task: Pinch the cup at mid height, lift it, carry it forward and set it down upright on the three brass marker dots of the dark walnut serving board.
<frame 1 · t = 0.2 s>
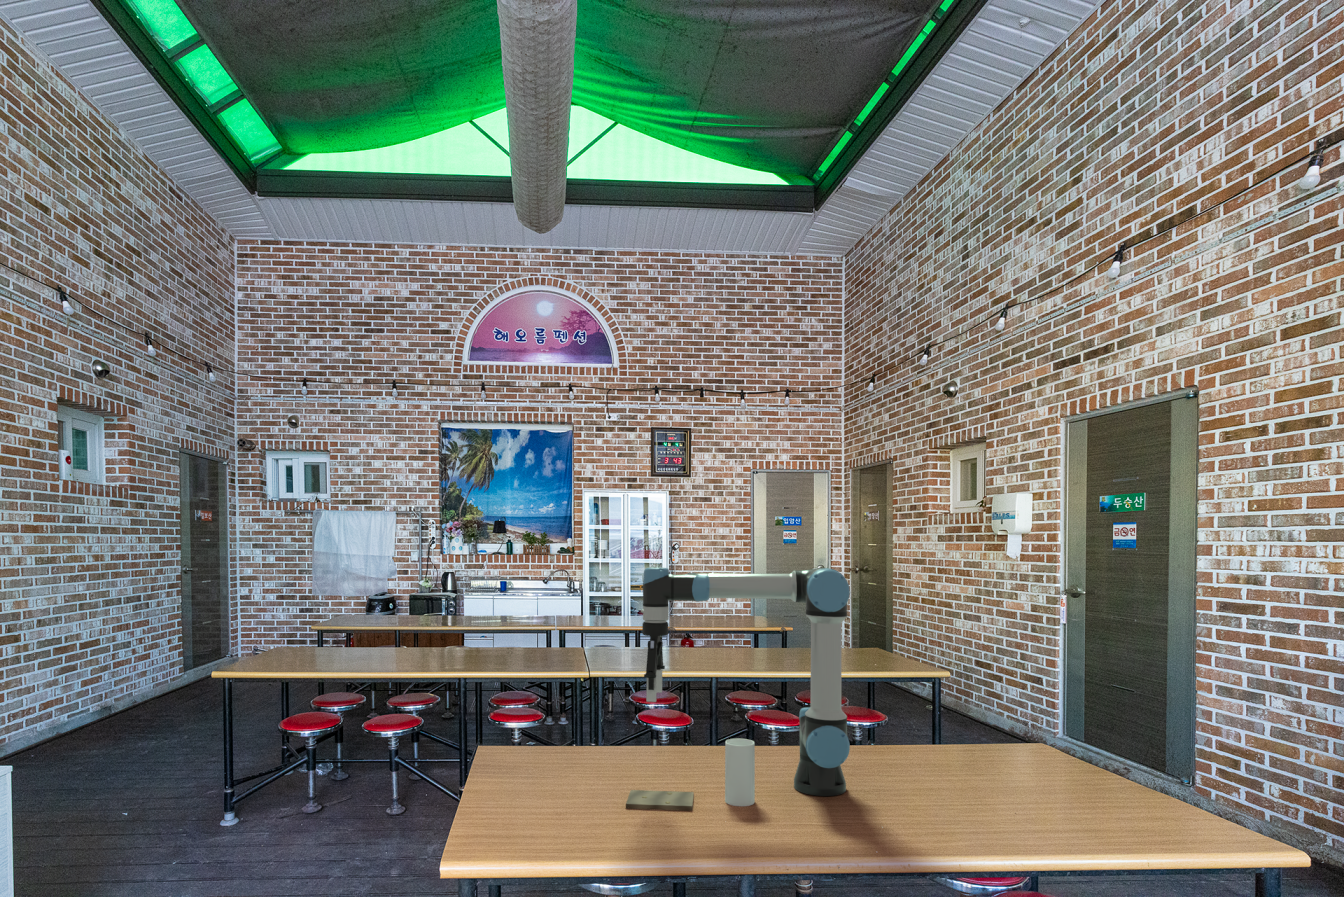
hand: (654, 696, 220), 28 cm above the table, fingers open, 13 cm apart
board: (660, 802, 213), on the table
cup: (739, 802, 214), on the table
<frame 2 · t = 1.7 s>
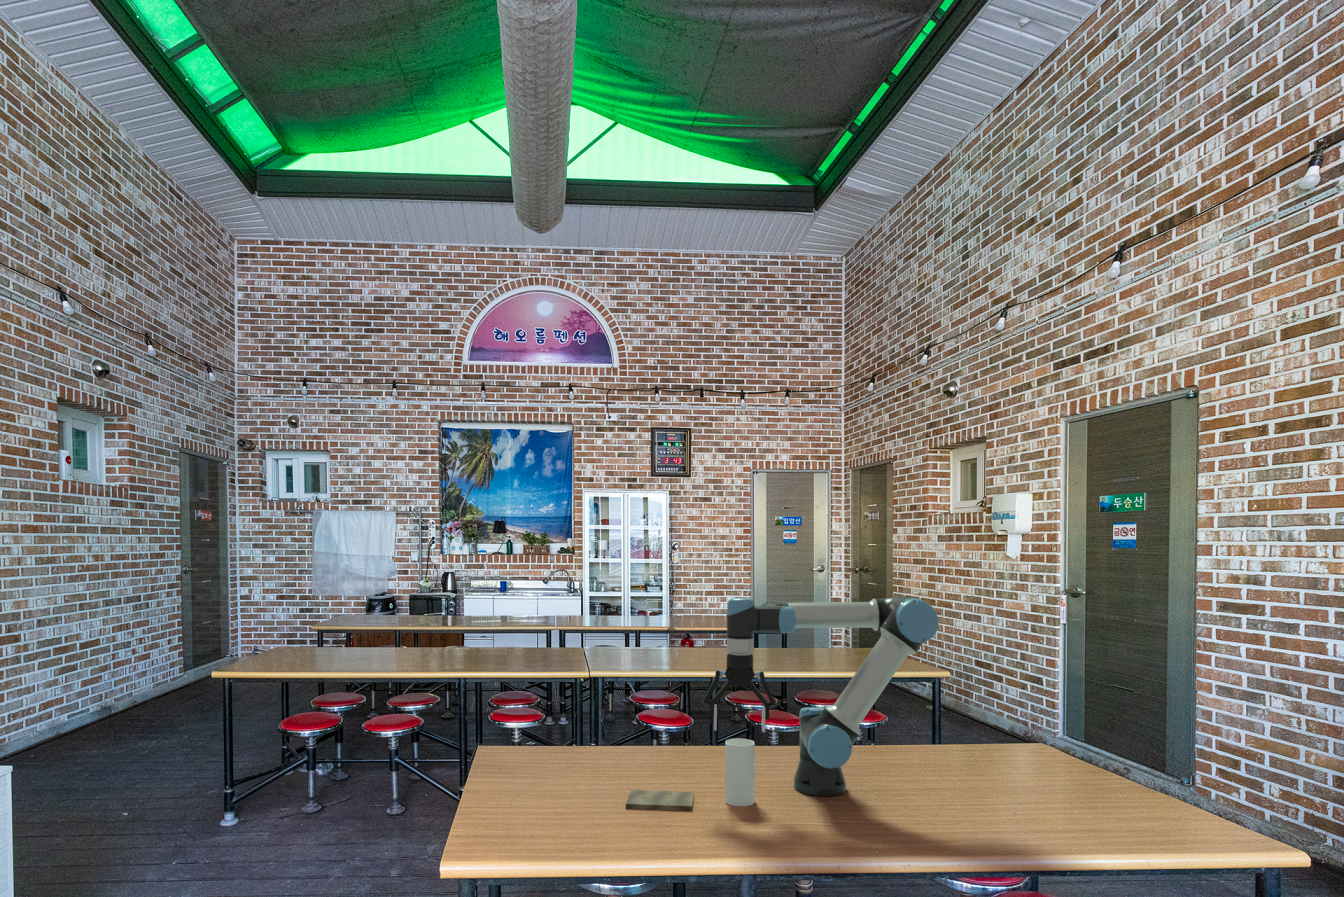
hand: (739, 730, 217), 19 cm above the table, fingers open, 13 cm apart
nothing on the table moved.
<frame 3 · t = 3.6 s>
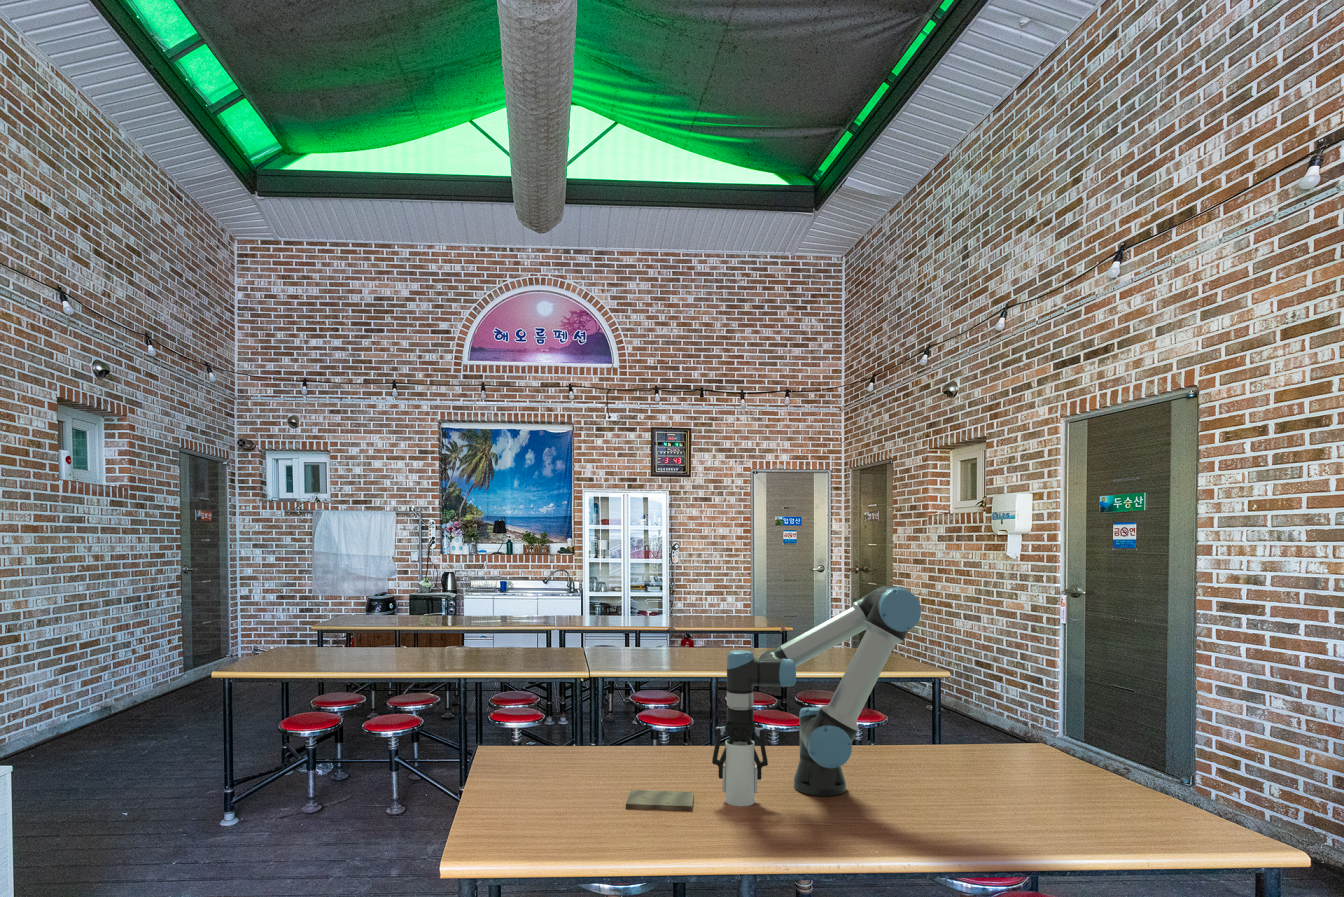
hand: (739, 790, 215), 3 cm above the table, fingers closed on cup, 8 cm apart
cup: (739, 802, 214), on the table, touching gripper
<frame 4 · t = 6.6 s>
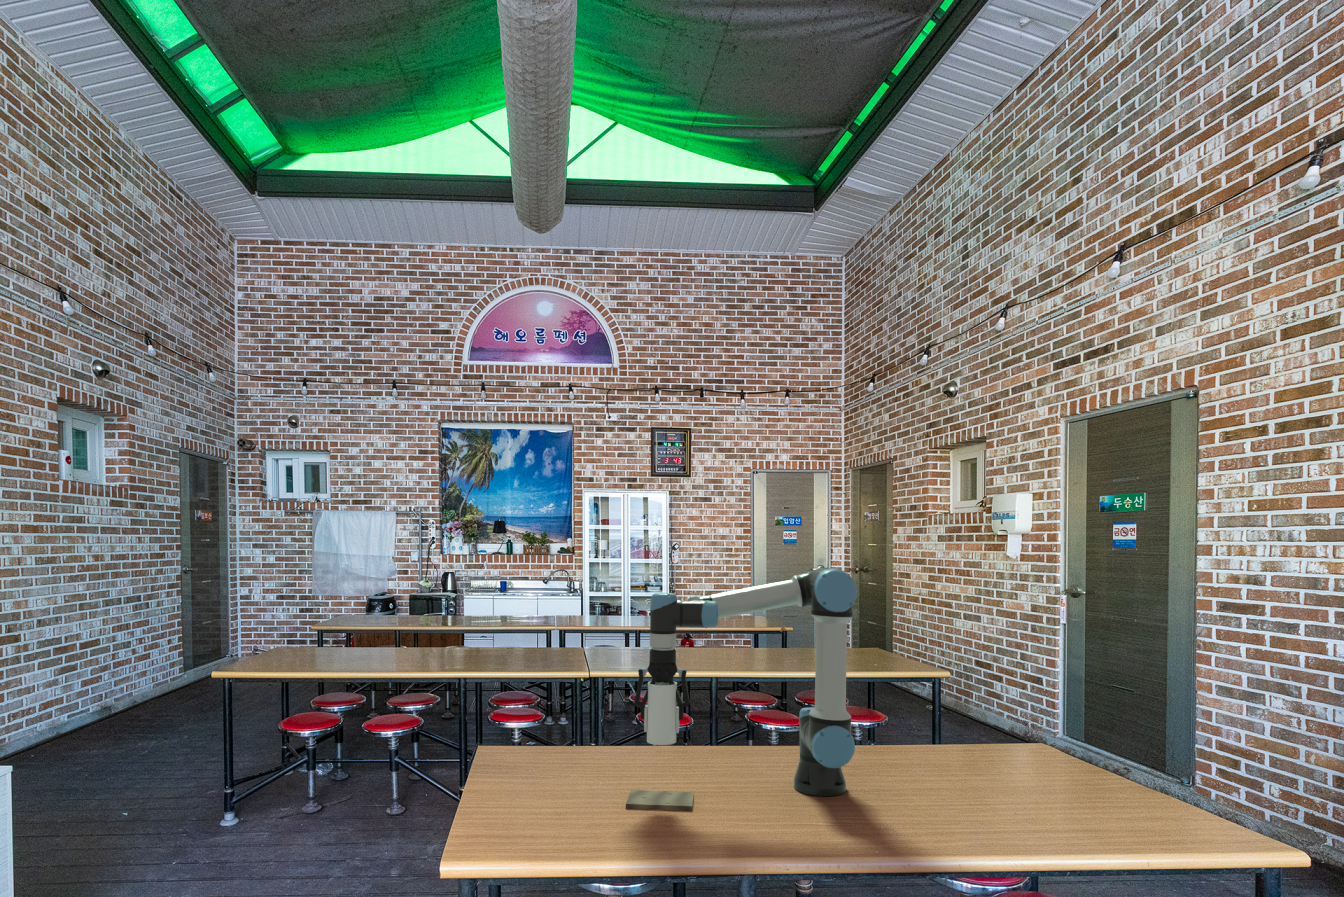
hand: (661, 731, 215), 19 cm above the table, fingers closed on cup, 8 cm apart
cup: (661, 742, 215), point 16 cm above the table, touching gripper
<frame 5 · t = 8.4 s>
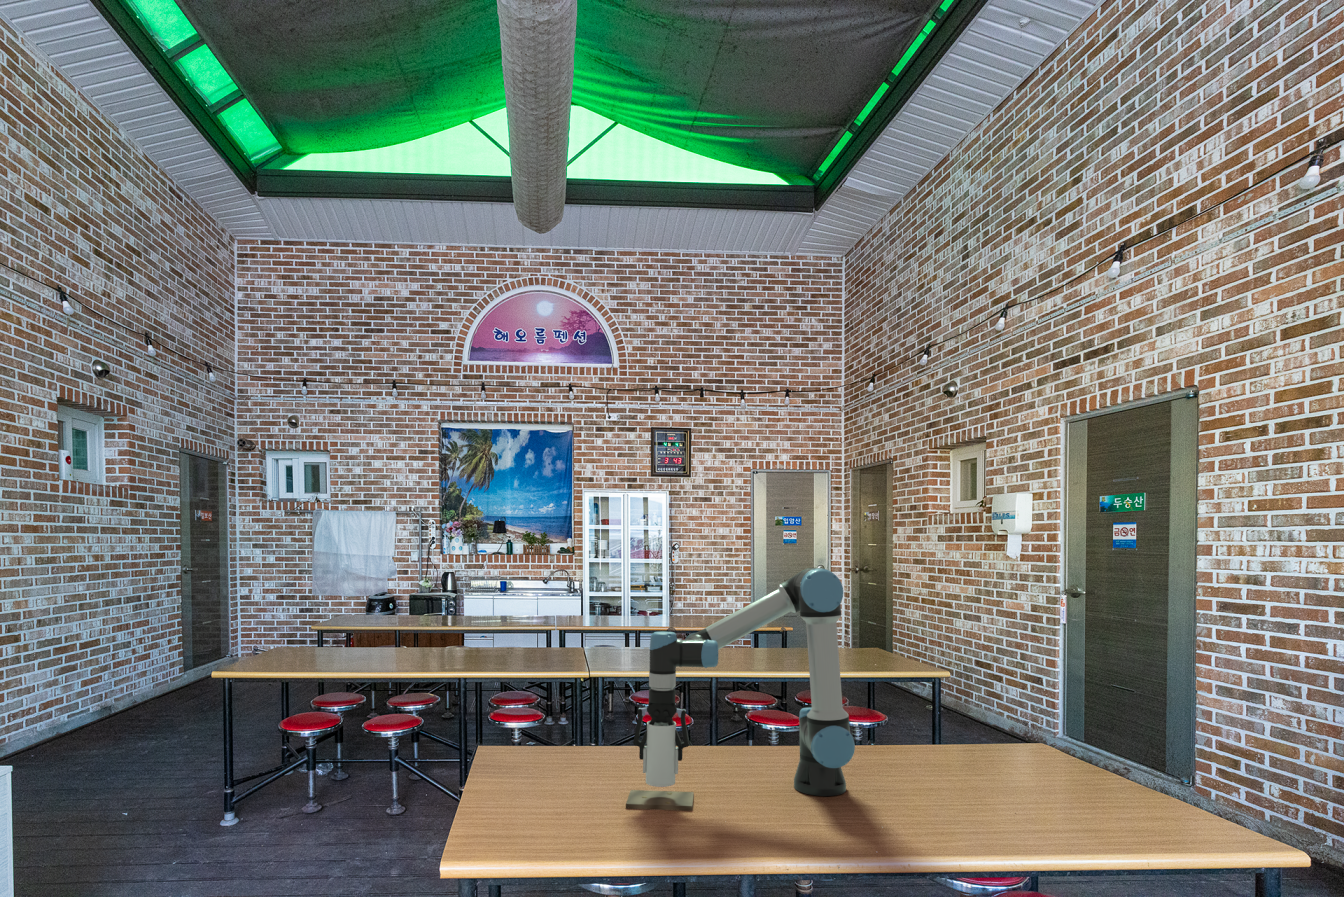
hand: (660, 772, 214), 8 cm above the table, fingers closed on cup, 8 cm apart
cup: (660, 783, 213), point 5 cm above the table, touching gripper
when the fingers open (4 cm above the table, at t = 9.6 s): cup stays where it is, resting on board.
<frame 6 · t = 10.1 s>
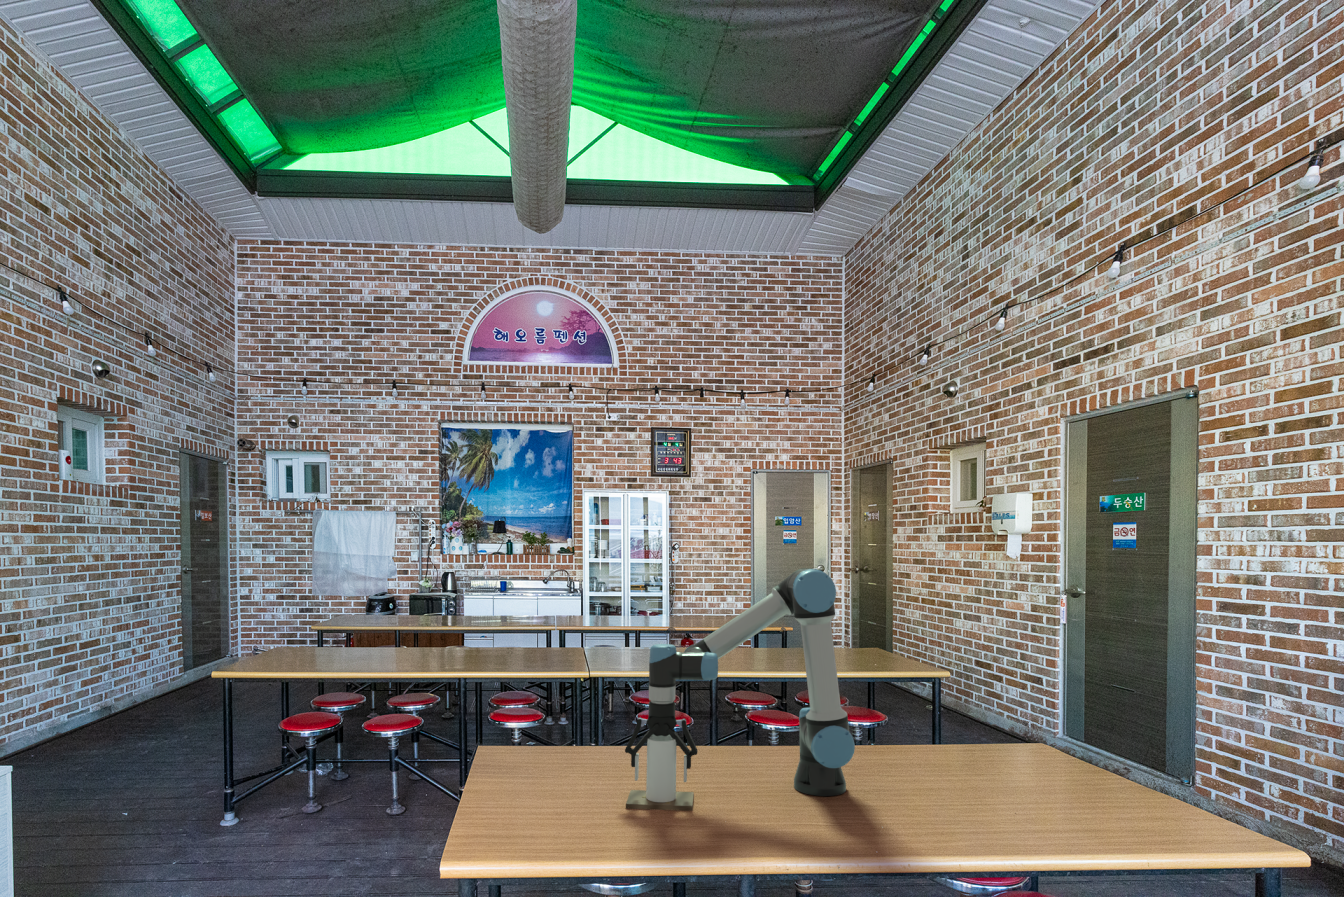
hand: (660, 780, 213), 6 cm above the table, fingers open, 13 cm apart
cup: (660, 798, 213), point 1 cm above the table, touching board
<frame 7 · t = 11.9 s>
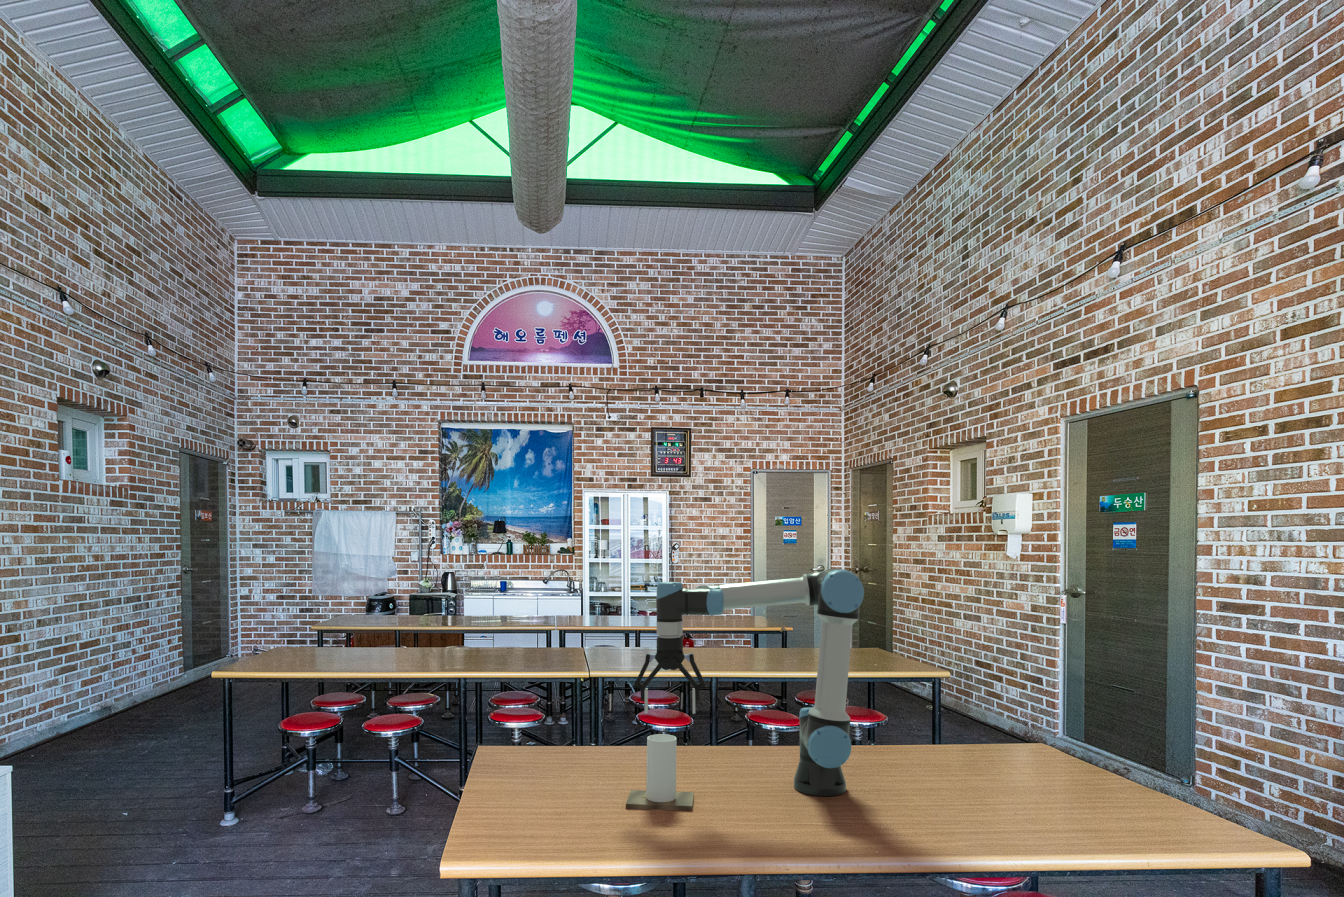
hand: (670, 712, 218), 23 cm above the table, fingers open, 13 cm apart
nothing on the table moved.
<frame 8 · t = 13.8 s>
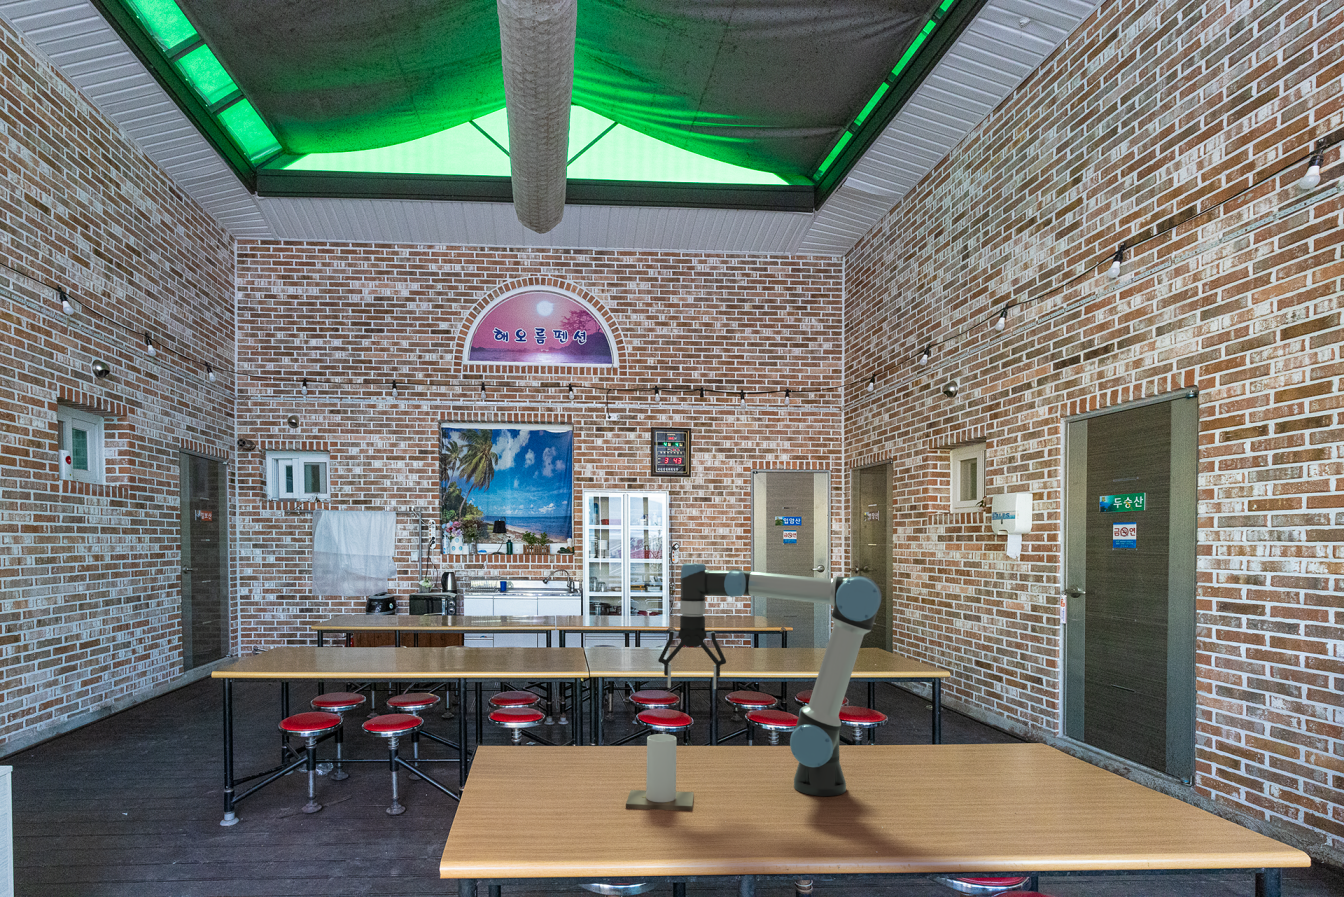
hand: (691, 687, 229), 29 cm above the table, fingers open, 13 cm apart
nothing on the table moved.
at the end: cup 0.1 cm from the board (horizontally); cup tilted 0°; cup point 1.1 cm above the table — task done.
